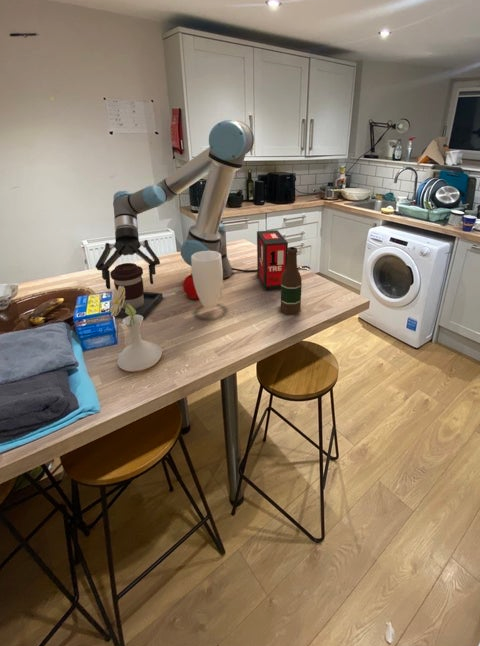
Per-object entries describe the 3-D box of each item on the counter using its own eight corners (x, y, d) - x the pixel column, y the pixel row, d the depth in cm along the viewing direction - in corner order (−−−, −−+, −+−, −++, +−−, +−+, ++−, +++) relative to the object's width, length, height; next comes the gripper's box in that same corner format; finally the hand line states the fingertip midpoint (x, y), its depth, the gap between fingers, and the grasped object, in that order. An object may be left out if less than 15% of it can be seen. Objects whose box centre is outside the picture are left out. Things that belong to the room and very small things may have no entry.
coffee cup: (153, 299, 124) (147, 262, 118) (138, 313, 115) (131, 273, 109) (127, 297, 124) (120, 260, 118) (111, 310, 115) (102, 271, 109)
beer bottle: (303, 306, 125) (306, 246, 115) (296, 317, 118) (299, 253, 108) (284, 302, 127) (285, 243, 117) (276, 312, 120) (277, 250, 110)
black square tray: (163, 298, 126) (162, 292, 125) (144, 319, 113) (143, 313, 112) (124, 295, 127) (123, 290, 126) (100, 316, 113) (99, 310, 112)
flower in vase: (123, 351, 97) (106, 273, 87) (165, 346, 100) (153, 270, 90) (111, 382, 86) (90, 296, 76) (158, 376, 88) (144, 293, 78)
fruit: (185, 291, 132) (182, 267, 128) (208, 289, 134) (206, 266, 130) (182, 302, 124) (179, 278, 120) (207, 300, 126) (205, 276, 122)
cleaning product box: (286, 288, 138) (287, 242, 130) (265, 290, 135) (265, 244, 127) (276, 272, 152) (277, 230, 144) (257, 274, 150) (256, 231, 141)
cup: (199, 322, 112) (193, 263, 104) (192, 308, 121) (186, 252, 112) (229, 315, 117) (226, 258, 108) (221, 302, 125) (217, 248, 117)
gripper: (164, 233, 130) (169, 284, 123) (90, 238, 121) (92, 293, 115) (162, 223, 123) (167, 277, 116) (84, 228, 115) (85, 286, 108)
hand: (130, 285), depth 116 cm, fingers open, 13 cm apart
